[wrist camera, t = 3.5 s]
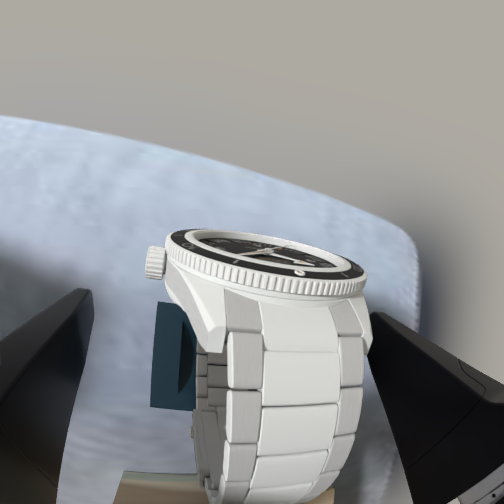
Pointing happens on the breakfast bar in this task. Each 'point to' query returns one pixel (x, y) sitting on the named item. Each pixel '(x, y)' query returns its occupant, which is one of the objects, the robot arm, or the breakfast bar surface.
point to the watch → (260, 360)
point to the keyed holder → (176, 490)
